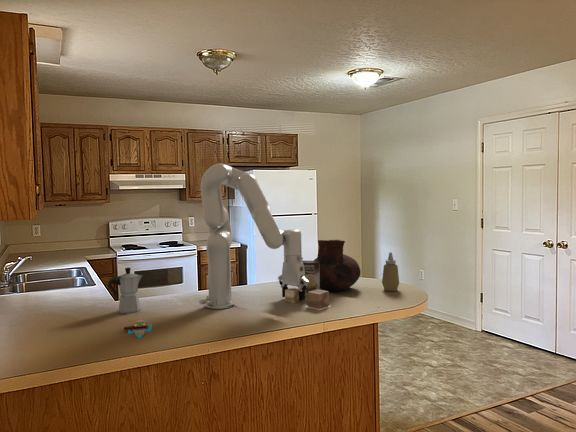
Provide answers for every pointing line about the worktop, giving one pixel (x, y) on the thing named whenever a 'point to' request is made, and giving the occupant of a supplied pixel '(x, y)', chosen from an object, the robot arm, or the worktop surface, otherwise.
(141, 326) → the gear mechanism
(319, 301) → the walnut base block
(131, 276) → the coffee maker
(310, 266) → the coffee box
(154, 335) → the worktop surface
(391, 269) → the squeeze bottle
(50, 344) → the worktop surface
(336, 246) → the jug
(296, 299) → the maple cube
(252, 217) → the robot arm
